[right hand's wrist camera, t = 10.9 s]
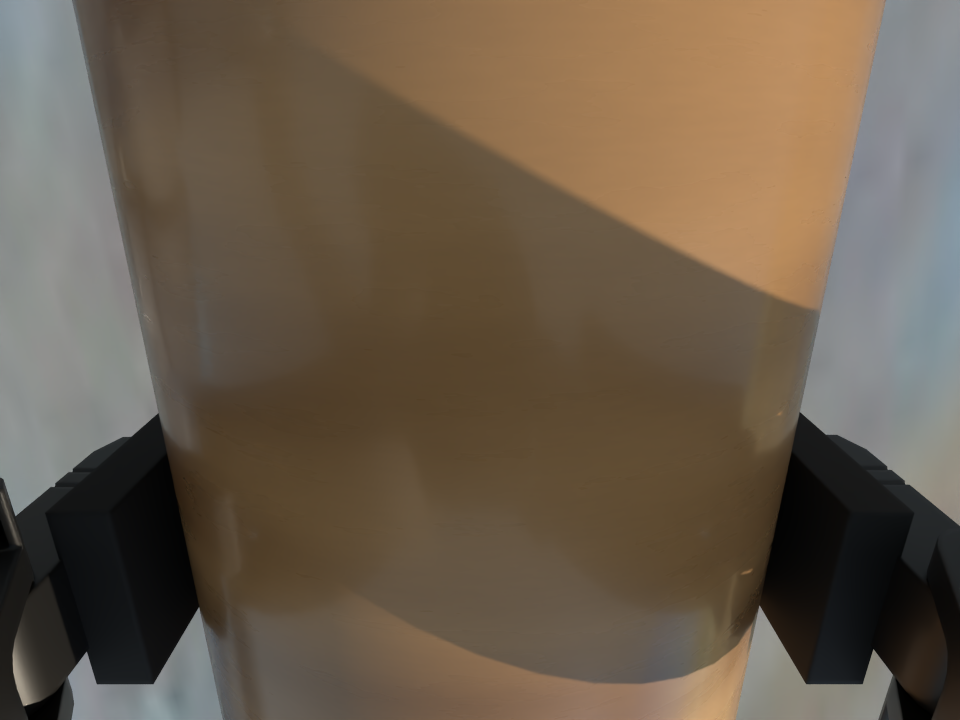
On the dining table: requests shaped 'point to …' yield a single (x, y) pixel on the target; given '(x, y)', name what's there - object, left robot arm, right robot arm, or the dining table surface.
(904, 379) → the dining table surface
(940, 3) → the dining table surface
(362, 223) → the rod
